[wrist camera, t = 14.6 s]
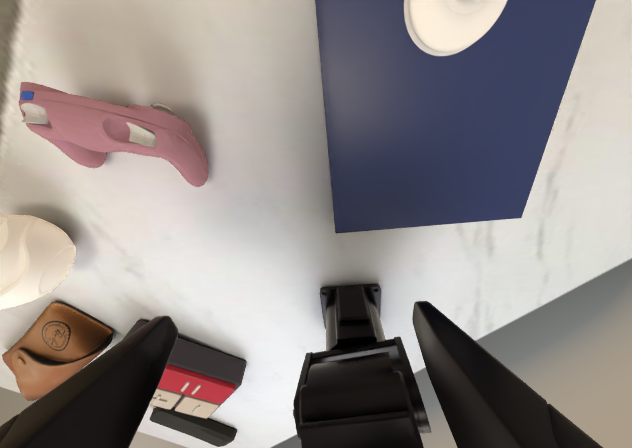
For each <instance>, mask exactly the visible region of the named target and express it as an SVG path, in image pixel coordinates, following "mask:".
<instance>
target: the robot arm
mask: <svg viewBox="0 0 632 448" xmlns="http://www.w3.org/2000/svg"><path fill="white" fill-rule="evenodd" d="M375 288H377V289H375ZM320 298H321V305H322V312H323V318H324V325H325V329H326V351H322V352H316V353H312V352H310V353H306V356H305V360H304V363H303V367H302V371H301V375H300V379H299V383H298V387H297V391H296V395H295V398H294V410H293V416H294V418H295V423H296V430H297V434H298V437H299V440H300V442H301V444H302V448H424V447H423V443H422V440H421V437H420V433H431V429H430V425H429V421H428V418H427V415H426V411H425V408H424V404H423V402H422V398H421V395H420V392H419V389H418V386H417V383H416V380H415V377H414V374H413V371H412V368H411V366H410V363H409V360H408V357H407V354H406V352H405V349H404V346H403V343H402V340H401V338H400V337H394V339H389V340H385V336H384V333H383V329H382V325H381V321H380V298H381V289H380V286H379V285H378V284H366V285H350V286H335V287H323V288H321V289H320ZM413 325H414V329H415V332H416V335H417V339H418V342H419V346H420V349H421V353H422V356H423V359H424V363H425V366H426V369H427V372H428V375H429V378H430V380H431V383H432V385H433V388H434V390H435V393H436V395H437V398H438V400H439V402H440V405H441V408H442V410H443V412H444V415H445V417H446V420H447V422H448V425H449V427H450V430H451V432H452V435H453V437H454V440H455V442H456V445H457V447H458V448H603V447H602V446H600V445H599V444H598V443H597V442H595V441H594V440H593V439H592V438H591V437H589V436H588V435H587V434H586V433H584V432H583V431H582V430H581V429H579V428H578V427H577V426H576V425H575V424H573V423H572V422H571V421H570V420H568V419H567V418H566V417H565V416H564V415H563V414H561V413H560V412H559V411H558V410H557V409H555V408H554V407H553V406H552V405H551V404H547V402H546V400H545V399H543V398H542V397H541V396H540V395H538V394H537V393H536V392H535V391H534V390H533V389H531V388H530V387H529V386H528V385H527V384H526V383H524V382H523V381H522V380H521V379H520V378H518V377H517V376H516V375H515V374H514V373H513V372H511V371H510V370H509V369H508V368H507V367H505V366H504V365H503V364H502V363H501V362H499V361H498V360H497V359H496V358H495V357H493V356H492V355H491V354H490V353H489V352H488V351H486V350H485V349H484V348H483V347H482V346H480V345H479V344H478V343H477V342H476V341H474V340H473V339H472V338H471V337H470V336H469V335H467V334H466V333H465V332H464V331H463V330H461V329H460V328H459V327H458V326H457V325H455V324H454V323H453V322H452V321H451V320H450V319H448V318H447V317H446V316H445V315H444V314H442V313H441V312H440V311H439V310H438V309H436V308H435V307H434V306H433V305H432V304H431V303H429V302H427V301H418V302H415V304H414V310H413ZM177 336H178V329H177V327H176V326H175V324H174V322H173V321H172V319H171V318H170V317H169V316H158V317H155V318H154V319H152V320H151V321H149V322H148V323H147V324H145V325H144V326H142V327H141V328H139V329H138V330H137V331H135V332H134V333H132V334H131V335H130V336H128V337H127V338H125V339H124V340H122V341H121V342H120V343H118V344H117V345H115V346H114V347H112V348H111V349H110V350H108V351H107V352H105V353H104V354H103V355H101V356H100V357H98V358H97V359H95V360H94V361H93V362H91V363H90V364H88V365H87V366H86V367H84V368H83V369H81V370H80V371H78V372H77V373H76V374H74V375H73V376H71V377H70V378H68V379H67V380H66V381H64V382H63V383H61V384H60V385H59V386H57V387H56V388H54V389H53V390H51V391H50V392H49V393H47V394H46V395H44V396H43V397H42V398H40V399H39V400H37V401H36V402H34V403H33V404H32V405H30V406H29V407H27V408H26V409H24V410H23V411H22V412H21V413H20V414H18V415H16V416H14V417H13V418H12V419H10V420H9V421H7V422H6V423H5V424H3V425H2V426H1V427H0V448H129V446H130V444H131V442H132V440H133V437H134V435H135V433H136V431H137V429H138V427H139V425H140V423H141V421H142V419H143V417H144V415H145V412H146V410H147V408H148V406H149V404H150V402H151V400H152V398H153V396H154V394H155V391H156V389H157V387H158V385H159V383H160V381H161V378H162V376H163V373H164V371H165V368H166V365H167V363H168V360H169V358H170V355H171V352H172V350H173V347H174V344H175V342H176V339H177Z"/></svg>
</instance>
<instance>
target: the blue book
mask: <svg viewBox="0 0 632 448" xmlns="http://www.w3.org/2000/svg"><path fill="white" fill-rule="evenodd" d="M595 1H596V0H507V2H506V5H505V7H504V9H503V11H502V12H501V14H500V16H499V17H498V19H497V20H496V22H495V23H494V24H493V26H492V27H491V28H490V29H489V30H488V31H487V32H486V33H485V34H484V35H483V36H482V37H481V38H480V39H479V40H477V41H476V42H475V43H473V44H472V45H470V46H469V47H468V48H466V49H464V50H462V51H460V52H458V53H455V54H452V55H448V56H434V55H431V54H428V53H426V52H424V51H422V50H421V49H420V48H419V47H418V46H417V45H416V44H415V43H414V42H413V40H412V39H411V37H410V35H409V33H408V30H407V27H406V23H405V18H404V0H315V3H316V15H317V26H318V38H319V49H320V61H321V72H322V84H323V95H324V107H325V118H326V130H327V141H328V153H329V164H330V176H331V187H332V199H333V210H334V222H335V232H336V233H346V232H358V231H370V230H382V229H394V228H406V227H418V226H430V225H442V224H454V223H466V222H478V221H489V220H501V219H513V218H521V217H522V214H523V211H524V208H525V205H526V203H527V200H528V197H529V194H530V191H531V188H532V185H533V182H534V179H535V176H536V173H537V170H538V167H539V165H540V162H541V159H542V156H543V153H544V150H545V147H546V144H547V141H548V138H549V135H550V132H551V130H552V127H553V124H554V121H555V118H556V115H557V112H558V109H559V106H560V103H561V100H562V97H563V95H564V92H565V89H566V86H567V83H568V80H569V77H570V74H571V71H572V68H573V65H574V62H575V59H576V57H577V54H578V51H579V48H580V45H581V42H582V39H583V36H584V33H585V30H586V27H587V24H588V22H589V19H590V16H591V13H592V10H593V7H594V4H595Z"/></svg>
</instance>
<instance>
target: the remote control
mask: <svg viewBox="0 0 632 448" xmlns="http://www.w3.org/2000/svg"><path fill="white" fill-rule="evenodd" d="M175 408H176V407H172V408H171V409H165V408H161V407H156V408H155V409H154V410H153V412H152V415H151V417H150V420H151V421H152V422H155V423H158V424H160V425H163V426H166V427H169V428H171V429H174V430H177V431H180V432H182V433H185V434H188V435H190V436H193V437H195V438H198V439H201V440H203V441H205V442H208V443H210V444H212V445H215V446H217V447H220V446H225V445H227V444H228V443H230V442H232V441H233V440H234V438H235V436H236V433H237V431H236V430H235V429H232V428H230V427H227V426H225V425H222V424H220V423H217V422H215V421H212V420H210V419H207V418H201V417H197V416H193V415H189V414H185V413H181V412H177V411H175Z"/></svg>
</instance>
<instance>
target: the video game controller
mask: <svg viewBox="0 0 632 448" xmlns="http://www.w3.org/2000/svg"><path fill="white" fill-rule="evenodd" d="M19 106H20V109H21V112H22V115H23V117H24V119H23V120H22V121H21V122H24V123H26V125H27V127H28V128H29V129H30V130H32V131H33V132H35V133H36V134H38V135H40V136H41V137H43V138H45V139H47V140H48V141H50V142H51V143H52V144H54V145H55V146H56V147H58V148H59V149H60V150H61V151H62V152H64V153H65V154H66V155H67V156H68V157H70V158H71V159H73V160H74V161H75V162H77V163H78V164H81V165H83V166H86V167H89V168H97V167H100V166H102V165H103V164H104V162H105V160H106V152H122V151H124V152H129V153H134V154H139V155H146V156H153V157H161V158H163V159H165V160H168V161H169V162H170V163H171V164H173V165H174V166H175V167H176V168H177V169H178V170H179V172H180V173H181V174H182V176H183V177H184V178H185V179H186V180H187V181H188V183H190V184H192V185H193V186H196V187H200V186H202V185H204V183H205V182H206V180H207V178H208V165H207V160H206V157H205V154H204V152H203V150H202V148H201V146H200V144H199V143H198V141H197V140H196V138H195V137H194V135H193V134H192V133H191V126H190V125H189V124H188V123H186V122H185V121H184V120H182V119H180V118H178V117H176V116H173V114H174V111H173V110H171V109H170V108H169V107H168V106H166V105H164V104H152V107H153V108H151V107H147V106H141V105H128V106H127V107H123V106H119V105H115V104H111V103H108V102H104V101H100V100H96V99H91V98H86V97H82V96H77V95H71V94H67V93H65V92H62V91H59V90H56V89H53V88H50V87H46V86H43V85H39V84H35V83H30V82H21V88H20V100H19Z"/></svg>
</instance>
